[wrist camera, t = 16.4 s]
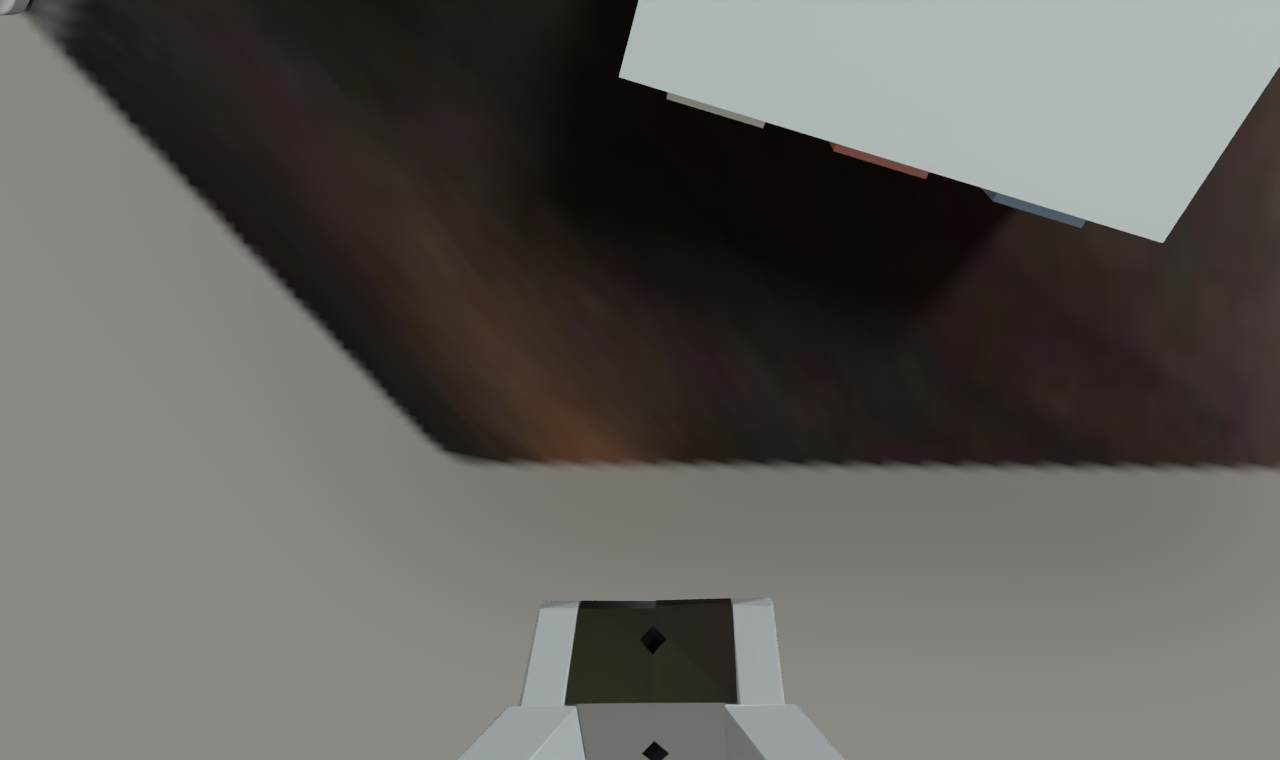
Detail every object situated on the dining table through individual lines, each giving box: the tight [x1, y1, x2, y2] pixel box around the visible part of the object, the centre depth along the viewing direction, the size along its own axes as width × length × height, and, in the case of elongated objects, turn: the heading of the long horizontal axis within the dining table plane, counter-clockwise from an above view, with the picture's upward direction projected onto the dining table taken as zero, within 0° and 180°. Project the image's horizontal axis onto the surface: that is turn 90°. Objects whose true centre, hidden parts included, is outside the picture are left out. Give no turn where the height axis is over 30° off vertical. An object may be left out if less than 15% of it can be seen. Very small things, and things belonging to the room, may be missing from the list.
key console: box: [619, 0, 1280, 243], centre depth 34 cm, size 22×10×11 cm, turn 74°
